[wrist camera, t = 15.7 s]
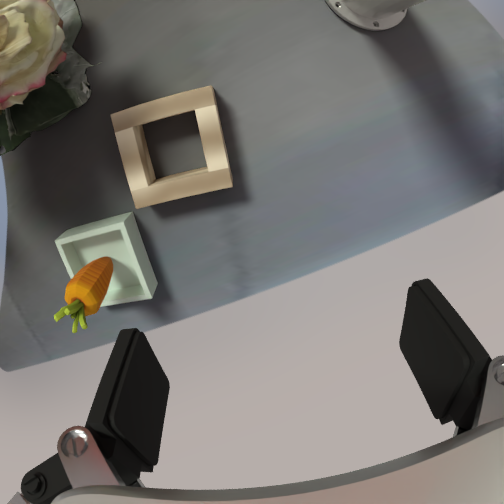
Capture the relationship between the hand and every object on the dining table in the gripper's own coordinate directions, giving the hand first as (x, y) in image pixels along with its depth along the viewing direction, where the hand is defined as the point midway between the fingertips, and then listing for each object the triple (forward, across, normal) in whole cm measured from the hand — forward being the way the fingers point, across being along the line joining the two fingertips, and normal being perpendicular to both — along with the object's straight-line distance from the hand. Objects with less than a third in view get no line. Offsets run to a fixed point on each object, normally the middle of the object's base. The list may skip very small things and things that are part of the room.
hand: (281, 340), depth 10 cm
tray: (+31, +22, +9) cm, 39 cm away
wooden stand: (+31, +9, -4) cm, 33 cm away
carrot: (+30, +22, +9) cm, 38 cm away
